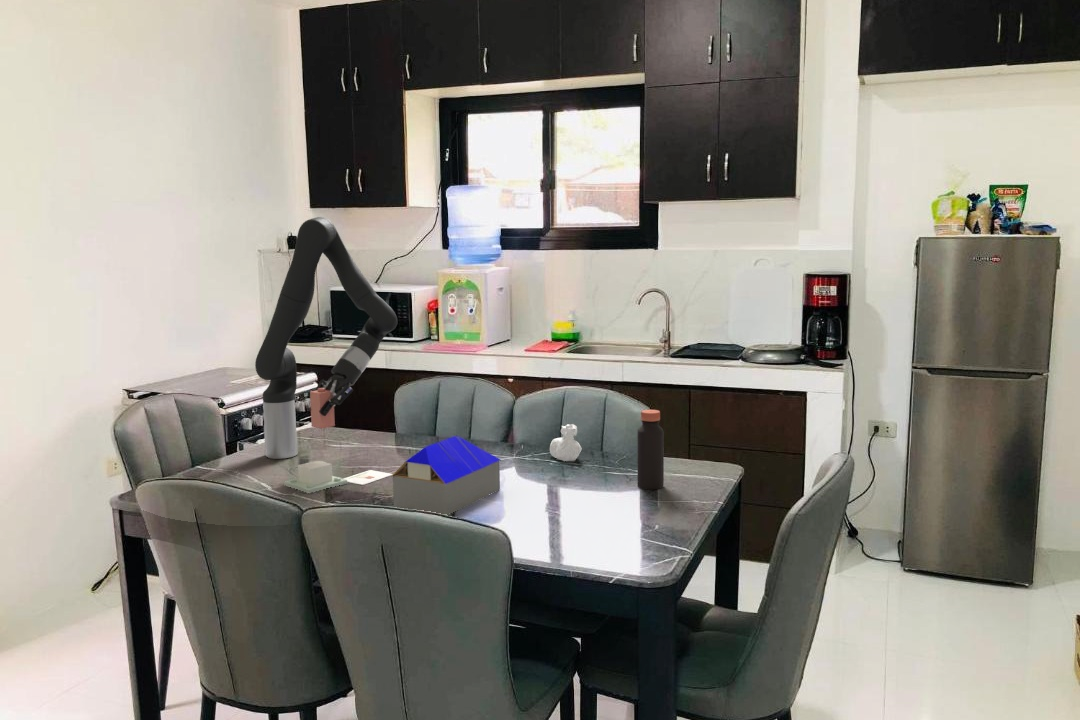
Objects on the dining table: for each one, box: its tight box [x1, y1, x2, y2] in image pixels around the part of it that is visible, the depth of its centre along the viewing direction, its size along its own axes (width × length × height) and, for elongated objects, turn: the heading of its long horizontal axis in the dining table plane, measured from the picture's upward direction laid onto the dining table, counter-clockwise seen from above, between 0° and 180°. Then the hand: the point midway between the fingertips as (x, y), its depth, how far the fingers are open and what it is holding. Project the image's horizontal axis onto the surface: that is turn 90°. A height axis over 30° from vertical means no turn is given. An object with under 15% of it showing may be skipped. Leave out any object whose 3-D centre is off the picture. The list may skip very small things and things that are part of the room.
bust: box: [549, 423, 583, 462], centre depth 255 cm, size 12×8×11 cm
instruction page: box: [343, 469, 394, 486], centre depth 238 cm, size 9×12×1 cm
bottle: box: [636, 409, 665, 491], centre depth 223 cm, size 7×7×20 cm
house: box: [390, 435, 502, 516], centre depth 216 cm, size 25×16×16 cm, turn 151°
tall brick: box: [309, 388, 336, 430], centre depth 242 cm, size 5×5×11 cm
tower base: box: [283, 460, 348, 494], centre depth 231 cm, size 12×12×6 cm
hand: (316, 412), depth 241 cm, fingers closed on tall brick, 4 cm apart
